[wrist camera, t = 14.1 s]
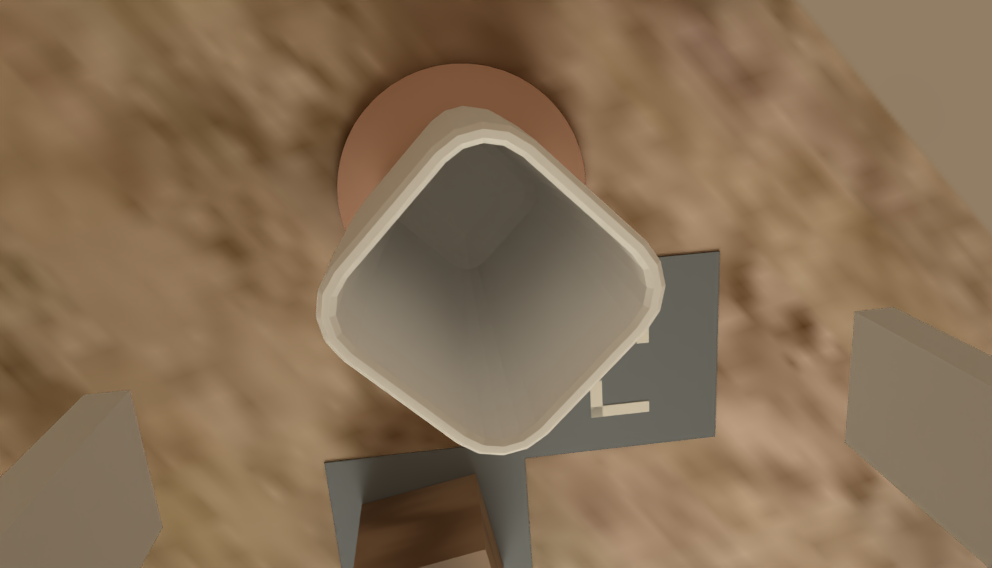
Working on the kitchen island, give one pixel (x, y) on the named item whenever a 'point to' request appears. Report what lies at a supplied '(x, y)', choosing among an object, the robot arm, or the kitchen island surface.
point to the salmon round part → (426, 97)
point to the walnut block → (428, 529)
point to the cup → (486, 284)
